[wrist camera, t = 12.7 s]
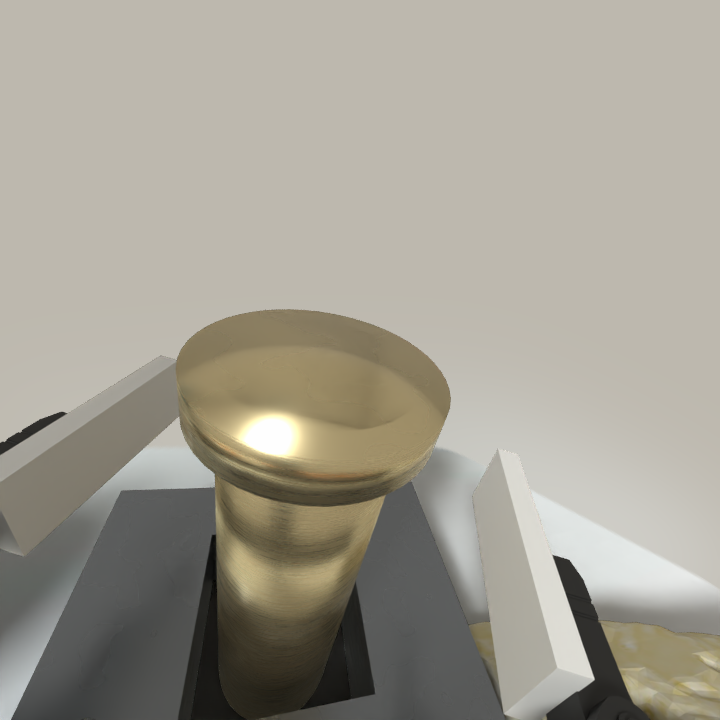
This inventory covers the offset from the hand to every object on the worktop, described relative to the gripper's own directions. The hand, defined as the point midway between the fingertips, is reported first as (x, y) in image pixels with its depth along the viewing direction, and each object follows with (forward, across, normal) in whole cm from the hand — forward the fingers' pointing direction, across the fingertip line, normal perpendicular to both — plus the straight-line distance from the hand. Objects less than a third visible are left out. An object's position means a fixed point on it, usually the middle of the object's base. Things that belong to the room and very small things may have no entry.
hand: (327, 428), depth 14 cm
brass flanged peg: (-3, 0, -11) cm, 11 cm away
